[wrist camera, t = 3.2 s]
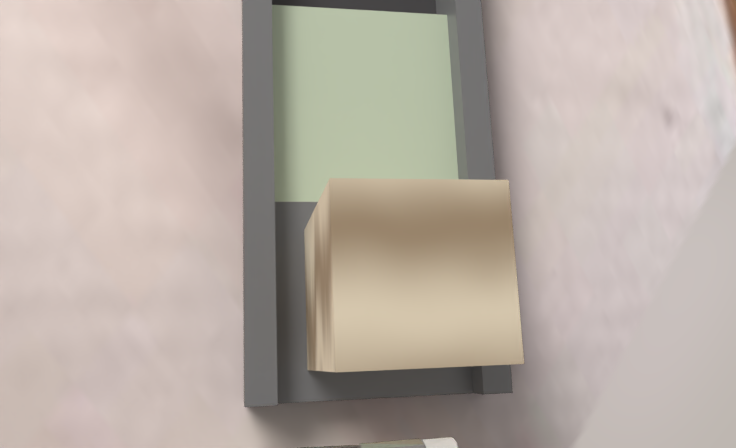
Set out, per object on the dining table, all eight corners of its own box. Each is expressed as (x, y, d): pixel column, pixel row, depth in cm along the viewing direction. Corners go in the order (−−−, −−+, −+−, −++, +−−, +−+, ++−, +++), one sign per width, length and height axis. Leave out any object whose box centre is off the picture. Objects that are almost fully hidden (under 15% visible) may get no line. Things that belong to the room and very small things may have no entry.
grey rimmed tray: (487, 390, 37) (512, 392, 33) (243, 403, 34) (244, 407, 31) (448, -134, 43) (466, -177, 40) (241, -156, 40) (241, -203, 37)
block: (444, 364, 34) (524, 363, 25) (307, 370, 33) (335, 372, 23) (435, 229, 36) (508, 179, 26) (304, 230, 34) (329, 178, 25)
